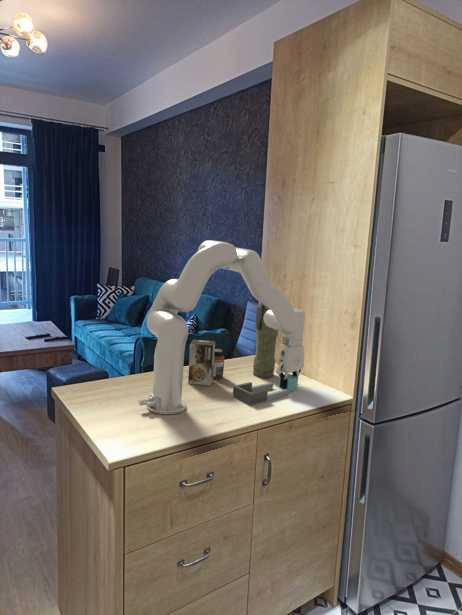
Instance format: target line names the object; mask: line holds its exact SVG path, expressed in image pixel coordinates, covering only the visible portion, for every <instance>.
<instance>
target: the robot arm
mask: <svg viewBox="0 0 462 615" xmlns="http://www.w3.org/2000/svg"><path fill="white" fill-rule="evenodd" d="M219 269H220V270H221V269H223V270H227V271H233V272H237V273H239V274H240V276H241V277H242V278H243V280H244V282H245V284H246V286H247V288H248V290H249V291H250V294H251V295H252V297H253V298H255V299H256V300H257V301H258V302H259V303H262V304H264V305H265V306H266V307H267V308H269V309H270V310H268V311H267V312H266V313H265V314H264V322H265V324H266V325H267V326H268V327H270V328H272V329H275V330H278V332H281V333H283V334H282V335H283V336H282V341H281V342H282V344H281V346H280V351H279V355H278V364H277V367H276V369H275V373H276V374H277V375H278V377H279V380H280V387H281V388H283V389H287V380H288V379H286V378H287V375H288V374H291V375H293V376H296V377H298V378H299V376H300V374H301V372H302V370H303V369H304V368H305V345H304V344H303V342H304V334H305V333H304V331H305V322H306V312H305V310H303V309H300V308H294V307H293V305H292V304H291V302H290V301H289V299H288V298H287V297H286V296H285V295H284V294H283V292H282V291H281V290H280V289H279V288H278V287H277V286H276V285H275V284H274V282H273V281H272V280H273V279H271V276H270V275H269V273H268V270H267V269H266V266H265V264H264V262H263V260H262V259H261V257H260V255H259V253H258V252H256V251H255V250H252V249H247V248H241V247H236V246H234V245H233V244H231V243H229V242H226V241H222V240H221V241H220V240H219V241H218V240H205V241H203V242H202V243H200V245H199V247H198V249H197V251H196V253H194V254H193V255H192V256H191V257H190V259H188V261H187V263H186V264H185V266H184V267H183V269H182V271H181V273H180V276H179V278H172V279H169V280H167V281H166V282H164V283H163V284H162V285H161V287H160V288H159V290H158V292H157V295H156V297H155V298H154V301H153V303H152V305H151V307H150V310H149V312H148V315H147V318H146V326H147V329H148V331H149V332H150V333H151V334H152V335H153V336H155V337H156V338H157V342H156V346H155V350H154V355H153V356H154V357H153V358H154V359H153V361H154V362H153V381H152V393H149V396H148V397H147V398H143V399H139V400H138V406H146V408H147V410H149V411H151V412H152V413H154V414H159V415H175V414H179V413H183V411H184V410H186V406H187V405H186V402H185V401H184V400H182V399H183V398H182V396H183V382H184V381H183V378H184V364H185V363H184V362H185V350H186V345H187V344H186V343H187V340H188V336H189V327H188V324H187V321H186V319H184V318H183V317H182V316H181V315H179V314H178V313H179V312H182V313H183V312H184V313H189V312H192V311H193V310H194V309H195V307H196V306H197V304H198V302H199V300H200V297H201V295H202V293H203V291H204V289H205V287H206V285H207V283H208V281H209V279H210V278H211V276H212V275H213V274H214V273H215V272H216V271H218V270H219Z"/></svg>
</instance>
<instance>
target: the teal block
mask: <svg viewBox="0 0 462 615" xmlns="http://www.w3.org/2000/svg"><path fill="white" fill-rule="evenodd" d="M291 374H292V373H288V375H287V378H286V379H288V380H287V390H288V393H289V392H293V391H297V390H298V385H299V384H298V383H299V376H298V377H296V376H293V374H292V375H291ZM278 389H280V390H285V389H283V388H281V387H280V379H279V383H278Z"/></svg>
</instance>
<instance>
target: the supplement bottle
mask: <svg viewBox="0 0 462 615" xmlns="http://www.w3.org/2000/svg"><path fill="white" fill-rule="evenodd" d="M224 368H225V355H223V349H222V348H221V349H220V348H215V355H214V370H213V380H220V379H222V378H224Z"/></svg>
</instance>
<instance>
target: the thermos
mask: <svg viewBox="0 0 462 615" xmlns="http://www.w3.org/2000/svg"><path fill="white" fill-rule="evenodd" d="M268 310H270V309H269V308H267V307H266V306H265V305H264V304H262V303H261V302H259V303H258V306H257V308H256V317H255V318H256V320H255V330H256V332H255V333H256V335H257V336H256V346H255V356H254V357H253V362H252V363H253V365H252V368H253V371H252V376H255V377H257V378H260V379H271V378H273V377H274V375H275V374H274V371H275V370H276V369H275V367H276V357H275V356H276V346H277V345H276V344H277V337H278V335H279V331H278V330H275V329H272V328H270V327H268V326H267V325H266V324H265V322H264V314H265V313H266V312H267V311H268Z"/></svg>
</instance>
